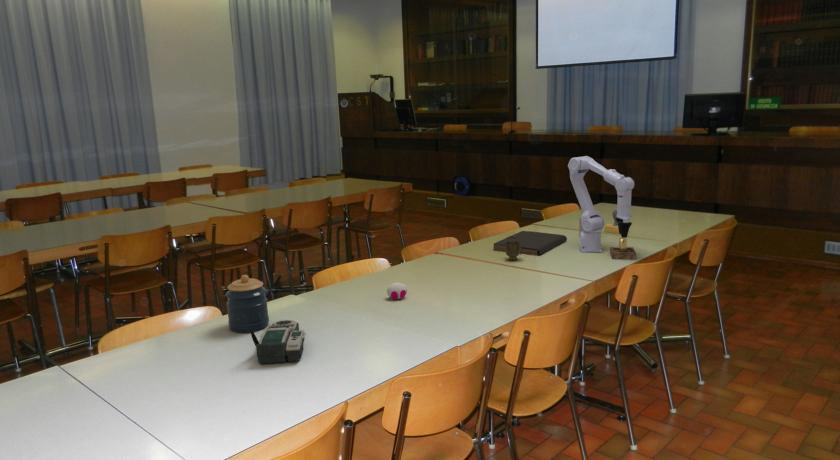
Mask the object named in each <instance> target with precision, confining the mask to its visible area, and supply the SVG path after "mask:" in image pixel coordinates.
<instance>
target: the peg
mask: <svg viewBox="0 0 840 460" xmlns="http://www.w3.org/2000/svg"><path fill="white" fill-rule="evenodd" d="M627 241H628V240H627V238H622V237H621V238H618V247H619V252H626V247H628V245H627V244H628V243H627Z"/></svg>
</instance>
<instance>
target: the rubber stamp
mask: <svg viewBox="0 0 840 460" xmlns="http://www.w3.org/2000/svg"><path fill="white" fill-rule="evenodd" d="M616 215H617V209H613V210H612V218H613V222H614V223H607V224H605V225H604V228H603V229H604V231H603V232H604V233H608V234H609V233H610V234H615V235H616V234H617V235H620V234H619V229H618V223H617V221H616V218H618V217H616Z"/></svg>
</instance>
